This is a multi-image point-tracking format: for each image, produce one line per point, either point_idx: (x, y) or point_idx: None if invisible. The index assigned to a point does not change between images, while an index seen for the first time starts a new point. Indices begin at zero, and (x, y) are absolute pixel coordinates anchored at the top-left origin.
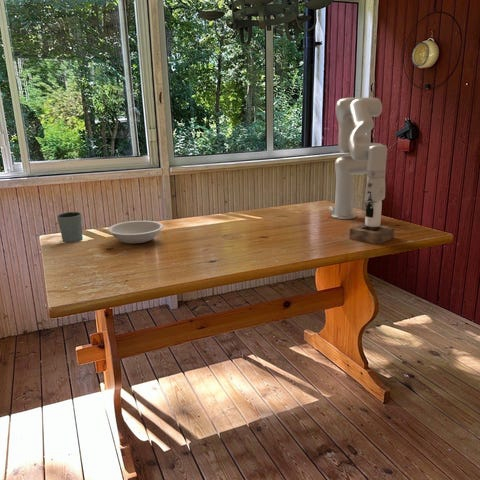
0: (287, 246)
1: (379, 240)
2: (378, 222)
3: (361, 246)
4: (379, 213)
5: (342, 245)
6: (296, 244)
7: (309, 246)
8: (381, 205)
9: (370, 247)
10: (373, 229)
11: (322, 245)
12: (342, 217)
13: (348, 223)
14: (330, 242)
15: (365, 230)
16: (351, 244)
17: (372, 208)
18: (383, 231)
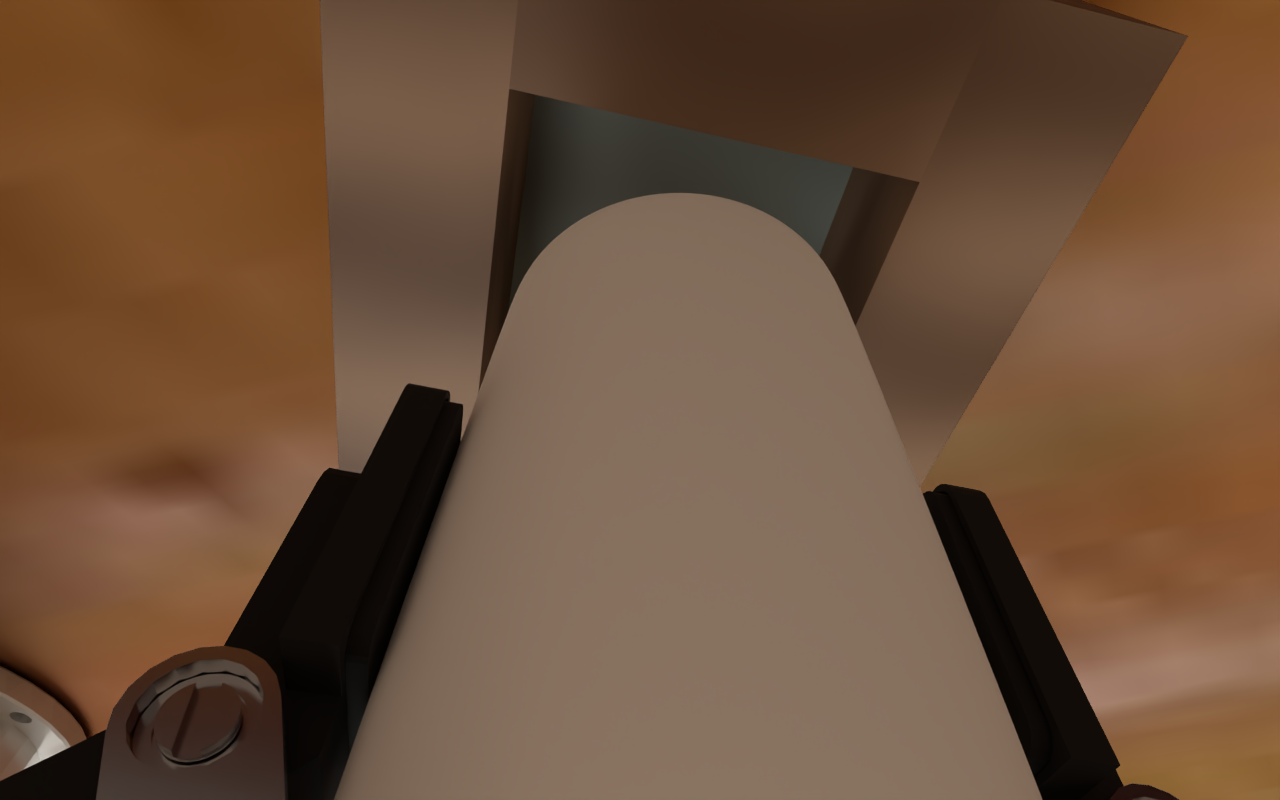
0: (1271, 790)
1: (1097, 6)
2: (787, 259)
3: (1221, 247)
4: (817, 415)
5: (1189, 466)
6: (1196, 763)
7: (1261, 687)
8: (721, 676)
9: (1277, 98)
10: (497, 295)
11: (1211, 618)
12: (46, 717)
13: (158, 623)
14: (1070, 588)
15: (898, 381)
16: (1123, 390)
17: (1104, 778)
18: (870, 17)
